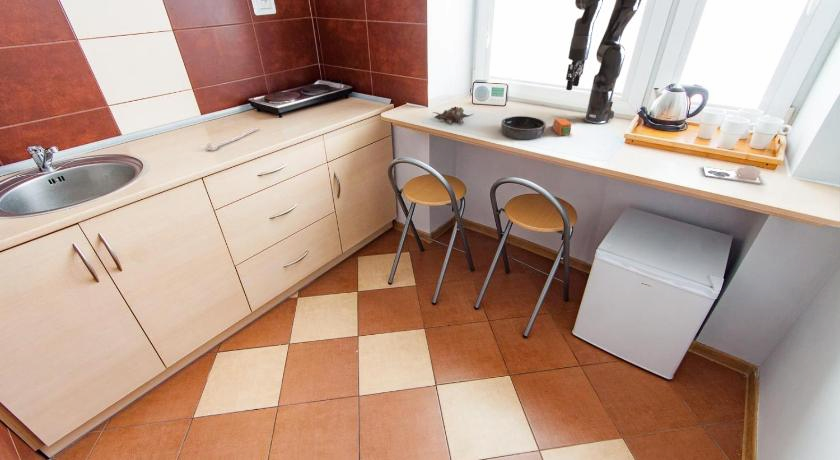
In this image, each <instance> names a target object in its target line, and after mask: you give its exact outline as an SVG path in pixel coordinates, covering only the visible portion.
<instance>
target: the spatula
mask: <svg viewBox="0 0 840 460" xmlns="http://www.w3.org/2000/svg"><path fill="white" fill-rule="evenodd" d="M252 130H253V131H252ZM258 130H259V128H258V127H254V128H253V127H252V128H251V129H247V130H245V131H243V132H241V133H238V134H236V135H234V136H232V137H229V138H227V139H226V138H225V139H224V140H220V141H218V142H209V143H207V144H206V149H207V150H208V151H210V152H211V151H217V149H218V148H219V147H221V146H223V145H228V144H230V143H232V142H235V141H237V140H240V139H241V138H244V137H246V136H248V135H250V134H251V133H254V132H256V131H258ZM250 131H251V132H250ZM237 137H238V138H237ZM235 138H236V139H235ZM228 141H229V142H228ZM223 143H224V144H223ZM218 145H219V146H218ZM215 147H216V148H215ZM208 148H210V149H208ZM212 148H213V149H212Z"/></svg>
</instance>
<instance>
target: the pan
mask: <svg viewBox="0 0 840 460" xmlns="http://www.w3.org/2000/svg"><path fill="white" fill-rule="evenodd" d="M500 124H501V125H500V132H501V134H502V135H503V136H504V137H506V138H510V139H513V140H521V141H527V140H528V141H529V140H531V141H532V140H537V139H540V138H542V137H543V136H544V135H545V133H546V127H547V123H546V121H544V120H543V119H541V118H538V117H534V116H527V115H515V116H508V117H504V118H503V119H502V120H501V123H500Z"/></svg>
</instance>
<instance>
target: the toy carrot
mask: <svg viewBox="0 0 840 460" xmlns="http://www.w3.org/2000/svg"><path fill="white" fill-rule="evenodd" d="M552 130H553V131H555V132H556V133H557V135H559V136H570V134H571V132H572V131H571V130H572V123H571V122H570V121H569V120H567V119H566V118H555V119H554V120H553V123H552Z"/></svg>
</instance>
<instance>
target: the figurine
mask: <svg viewBox="0 0 840 460" xmlns="http://www.w3.org/2000/svg"><path fill="white" fill-rule="evenodd" d="M464 111H465V110H464V109H463V107H458V106H454V107H451V108H450V109H448V110H446V109H445V110H444V111H443V112H442V113H439V112H437V111H432V114H437V115H435V116H432V119H434V118H435V119H437V120H439V121H441V120H443V121H445V124H451V123H452V122H456V123H458V124H459V125H462V124H464V121H463V119H464V118H468V117H471V116H473V115H474V113H470V114H465V113H464Z"/></svg>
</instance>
